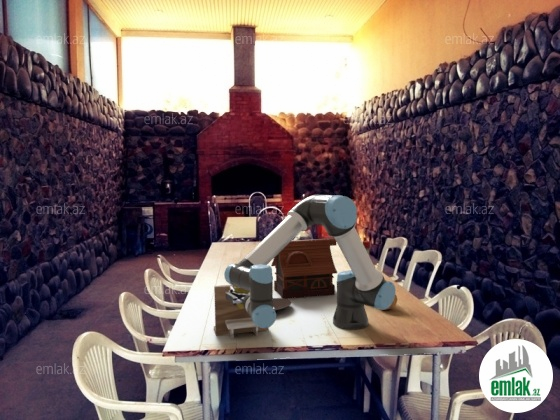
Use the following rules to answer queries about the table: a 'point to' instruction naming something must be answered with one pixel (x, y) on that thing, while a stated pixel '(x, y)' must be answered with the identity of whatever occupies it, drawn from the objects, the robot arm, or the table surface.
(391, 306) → the onion
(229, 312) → the cleat board
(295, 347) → the table surface
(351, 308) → the robot arm
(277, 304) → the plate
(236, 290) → the flower pot
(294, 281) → the house
